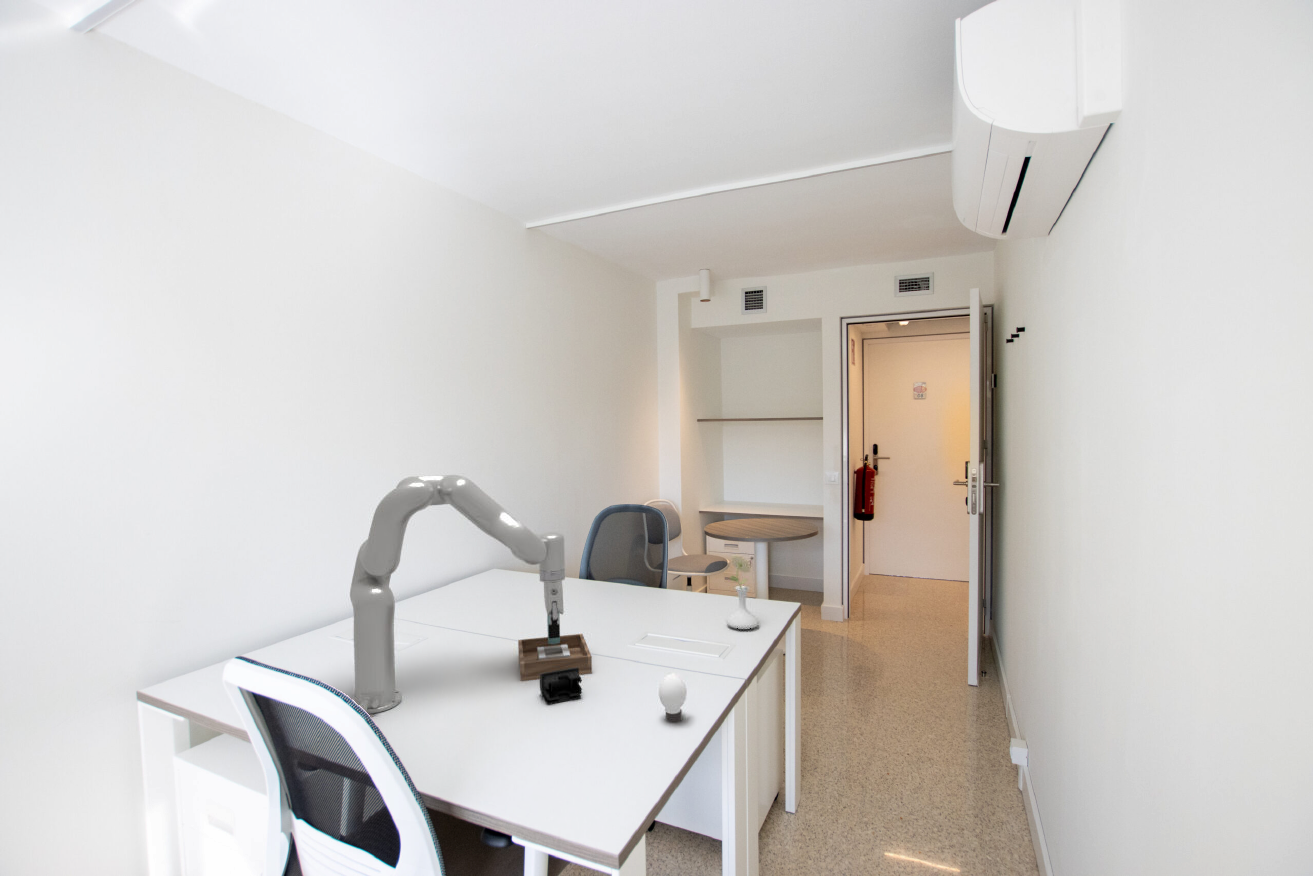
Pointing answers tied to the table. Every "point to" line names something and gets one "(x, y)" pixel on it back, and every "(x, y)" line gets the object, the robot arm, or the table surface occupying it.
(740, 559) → the flower in vase
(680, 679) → the light bulb
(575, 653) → the box
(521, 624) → the table surface
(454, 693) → the table surface
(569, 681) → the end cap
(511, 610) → the table surface
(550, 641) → the peg
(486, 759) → the table surface
